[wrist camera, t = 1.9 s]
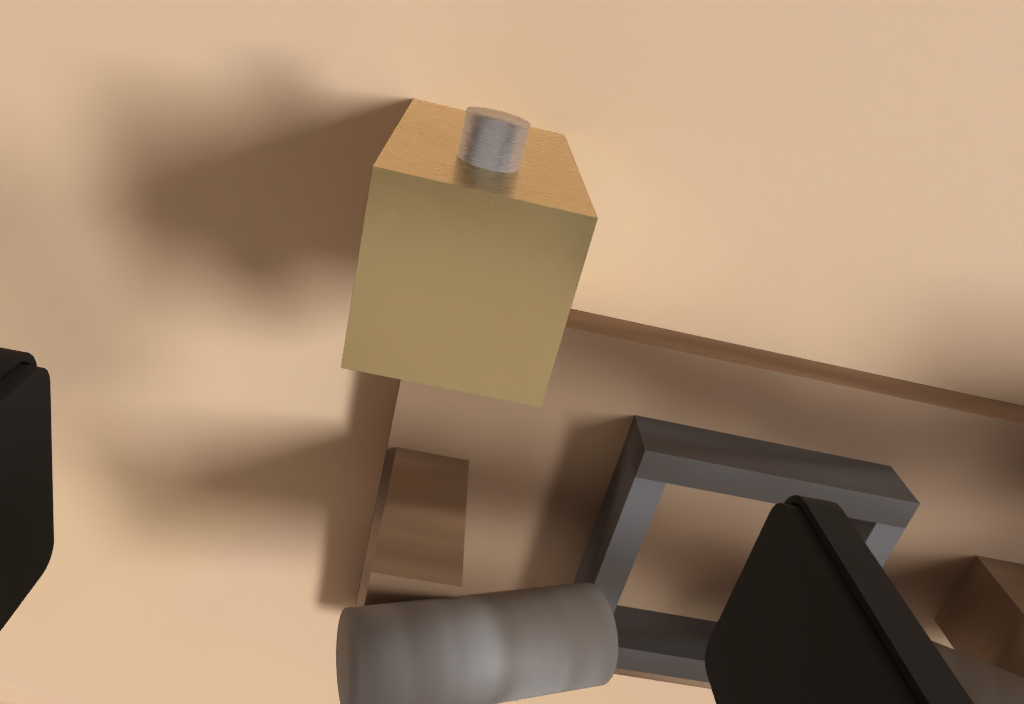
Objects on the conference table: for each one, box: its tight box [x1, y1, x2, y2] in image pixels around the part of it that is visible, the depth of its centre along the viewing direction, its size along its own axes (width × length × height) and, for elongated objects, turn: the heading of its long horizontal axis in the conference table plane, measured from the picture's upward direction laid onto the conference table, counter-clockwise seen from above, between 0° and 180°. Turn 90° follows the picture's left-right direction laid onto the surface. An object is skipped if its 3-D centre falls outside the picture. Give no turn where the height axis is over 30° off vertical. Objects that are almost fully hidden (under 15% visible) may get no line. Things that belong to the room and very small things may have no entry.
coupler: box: [341, 99, 598, 407], centre depth 19 cm, size 6×4×8 cm
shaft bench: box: [336, 309, 1024, 704], centre depth 24 cm, size 14×24×10 cm, turn 76°
